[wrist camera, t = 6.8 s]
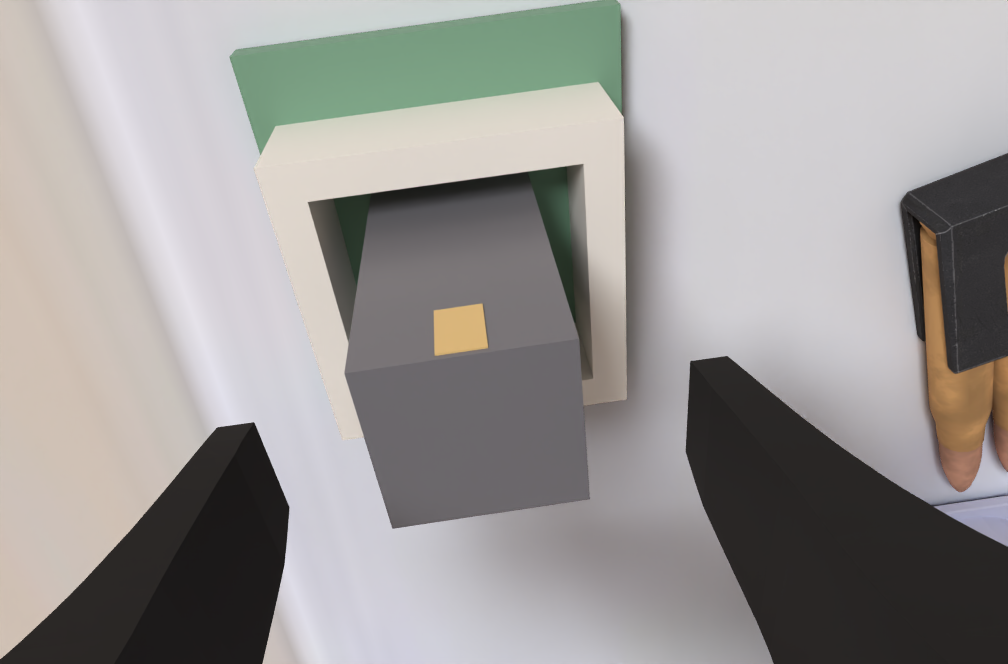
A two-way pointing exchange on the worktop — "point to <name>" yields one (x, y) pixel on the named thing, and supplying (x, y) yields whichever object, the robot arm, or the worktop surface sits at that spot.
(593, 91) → the board
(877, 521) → the robot arm
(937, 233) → the ammunition clip
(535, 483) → the plug
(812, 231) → the worktop surface
